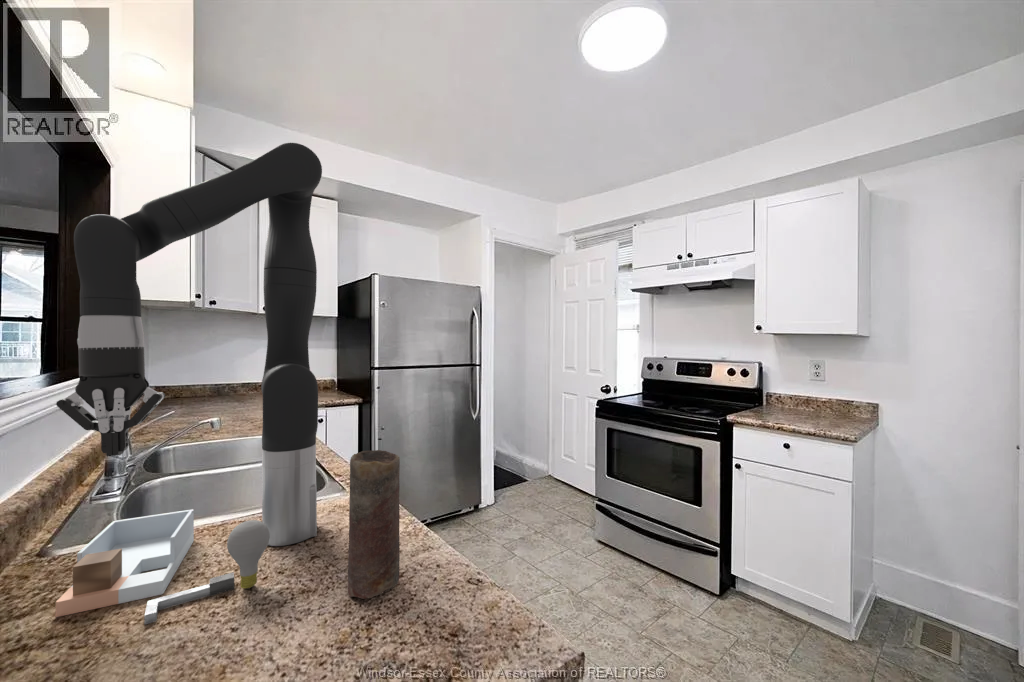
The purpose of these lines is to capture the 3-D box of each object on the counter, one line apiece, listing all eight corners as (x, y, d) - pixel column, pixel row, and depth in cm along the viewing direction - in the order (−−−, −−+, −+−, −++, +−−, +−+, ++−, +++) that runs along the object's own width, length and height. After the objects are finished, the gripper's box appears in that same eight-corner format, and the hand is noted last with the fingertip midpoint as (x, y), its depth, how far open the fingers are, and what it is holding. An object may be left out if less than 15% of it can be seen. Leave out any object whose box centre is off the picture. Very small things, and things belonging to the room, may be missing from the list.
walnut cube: (121, 574, 63) (121, 548, 63) (110, 588, 60) (110, 560, 60) (86, 581, 62) (86, 554, 62) (72, 596, 58) (72, 567, 58)
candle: (386, 569, 68) (385, 446, 68) (410, 587, 63) (409, 454, 63) (339, 589, 63) (338, 455, 63) (361, 610, 57) (360, 464, 58)
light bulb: (278, 581, 65) (277, 516, 65) (245, 601, 60) (245, 531, 60) (252, 575, 67) (251, 512, 67) (218, 594, 61) (218, 526, 62)
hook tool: (233, 583, 64) (233, 572, 64) (235, 597, 61) (235, 584, 61) (147, 608, 58) (147, 595, 58) (144, 624, 55) (144, 611, 55)
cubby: (193, 541, 79) (193, 509, 79) (162, 594, 62) (162, 553, 62) (113, 555, 74) (113, 520, 74) (55, 617, 57) (55, 572, 57)
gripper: (171, 344, 72) (174, 444, 72) (67, 346, 67) (70, 455, 66) (158, 344, 66) (160, 454, 66) (40, 346, 60) (43, 467, 60)
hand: (115, 454), depth 66 cm, fingers closed
